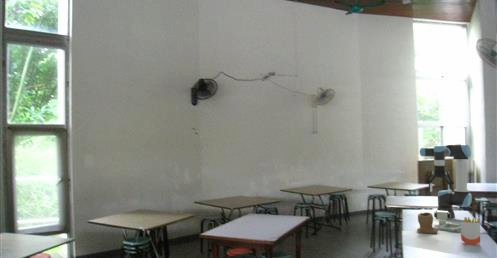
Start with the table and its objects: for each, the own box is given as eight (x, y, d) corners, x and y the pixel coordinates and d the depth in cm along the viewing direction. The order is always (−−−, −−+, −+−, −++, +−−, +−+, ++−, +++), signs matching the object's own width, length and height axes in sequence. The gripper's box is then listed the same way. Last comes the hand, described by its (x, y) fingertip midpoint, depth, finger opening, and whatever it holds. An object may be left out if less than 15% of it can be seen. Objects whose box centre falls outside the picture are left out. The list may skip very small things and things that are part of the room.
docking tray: (444, 226, 331) (444, 222, 331) (466, 228, 320) (466, 225, 320) (436, 229, 319) (436, 226, 319) (459, 232, 308) (458, 229, 308)
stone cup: (417, 234, 306) (417, 213, 306) (416, 230, 317) (415, 211, 317) (440, 235, 301) (439, 214, 301) (437, 231, 312) (437, 211, 313)
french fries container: (461, 242, 281) (460, 216, 281) (479, 243, 277) (478, 216, 277) (462, 244, 276) (461, 217, 277) (480, 245, 273) (479, 218, 273)
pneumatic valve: (450, 226, 331) (450, 210, 331) (434, 224, 337) (434, 209, 337) (450, 224, 336) (450, 209, 336) (435, 223, 341) (434, 208, 342)
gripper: (421, 164, 331) (422, 191, 331) (454, 166, 314) (455, 194, 314) (425, 164, 337) (425, 190, 336) (458, 165, 319) (458, 193, 319)
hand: (440, 192), depth 325 cm, fingers open, 13 cm apart
